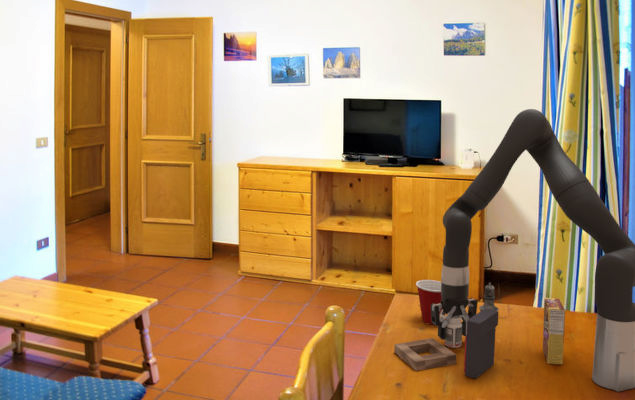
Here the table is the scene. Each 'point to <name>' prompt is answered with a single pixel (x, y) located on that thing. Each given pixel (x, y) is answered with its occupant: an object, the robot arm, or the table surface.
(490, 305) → the rusty flanged peg
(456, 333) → the pill bottle
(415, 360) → the gray square frame
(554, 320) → the candy box
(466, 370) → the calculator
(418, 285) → the plastic cup
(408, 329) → the table surface
